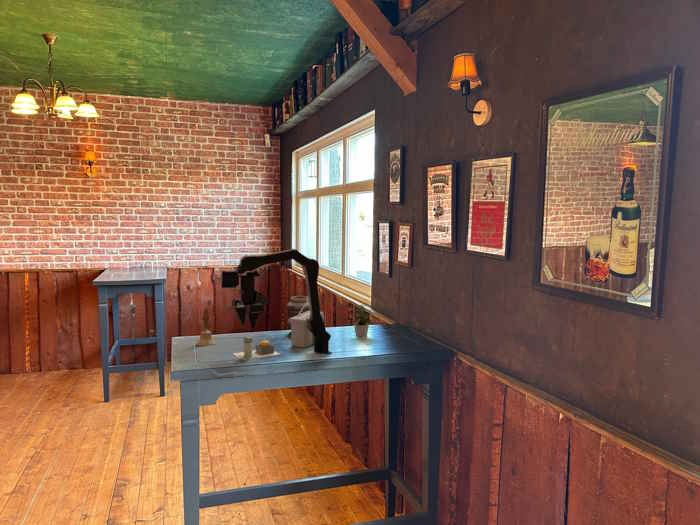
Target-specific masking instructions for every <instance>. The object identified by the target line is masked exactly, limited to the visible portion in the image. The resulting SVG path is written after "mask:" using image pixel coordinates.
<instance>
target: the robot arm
mask: <svg viewBox="0 0 700 525" xmlns="http://www.w3.org/2000/svg"><path fill="white" fill-rule="evenodd" d="M290 260H293V261H295V262H296V263H297V264H299V265H300V266H301V268H302V271H303V275H304V278H305V280H306V287H307V296H308V299H309V307H310V317H309V318H306V321H307V328H308V329H309V331H310V332H311V333H312V334H313V336H314V344H313V350H314V353H316V354H322V355H323V354H326V355H329V354H330V355H331V354H332V351H330V350H329V349H330V348H329V347H330V346H329V345H330V344H329V341H330V340H331V337H332V335H331V334H330V333H329V332H328V331H327V329H326V325H325V320H324V321H323V319H322V316H321V313H320V312H321V308H320V307H321V306H320V305H321V304H320V296H319V287H318V279H319V272H320V264H319V262H318V261H317V260H316V259H314V258H311V257H308V256H306V255H304V254H302V253H301V252H299V251H298V249H295V248H290V249H287V250H282V251H277V252H272V253H267V254H260V255H259V254H257V255H256V254H250V255H249V254H248V255H243V256H242V257H241V258H240V259H239V264H238V266H237V267H236V268H235V269H234V270H221V275H220V288H221V289H237V287H238V286H239V285H240V287H239V289H238V293H239V294H240V296H239V298H233V299H232V300H231V306H232V308H233V309H234V311H235V313H236V315H237V318H238V319H239V322H240V324H241V325H242V326H244V325H245V324H246V317H247V321H248V323H249V326H250V329H251V330H254V329H255V328H256V324H257V321H258V318H259V316H260V315H261V314H263V313H264V312H265V311H266V306H267V305H268V303H269V300H270V297H268V296H265V295H263V293H262V292H260V291H258V290H257V289H256V277H261V274H260V273H258V271H257V269H260V268H261V267H263V266H266V265H270V264H274V263H275V264H277V263H280V262H285V261H290Z"/></svg>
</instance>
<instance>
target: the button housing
mask: <svg viewBox="0 0 700 525" xmlns="http://www.w3.org/2000/svg"><path fill="white" fill-rule="evenodd" d="M255 350H256V352H257V353H259V354H261V355H263V354H269V353H274V351H275V345H274V344H271V343H270V342H269V346H265V347H261V346H260V343H259V344H258V343H256V344H255Z"/></svg>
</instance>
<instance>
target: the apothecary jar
mask: <svg viewBox="0 0 700 525" xmlns="http://www.w3.org/2000/svg"><path fill="white" fill-rule="evenodd" d="M308 299H309V298H308V295H307V296H306V295H294V296H290V301H289V302H288V303H287V305H286V306H287V308H288V309H289V318H288V319H287V321H286V322H287V325H288V326H289V327H290V328H291V322H290V318H292V317H295V316H297V315H298V314H299V313H300V311H301V309H302V308H303V306H304V305H305V303H306V302H307V300H308ZM307 311H310V307H309V300H308V302H307V303H306V305H305V307H304V308H303V310H302V311H301V313H300V314H302V313H305V312H307ZM290 334H291V331H289V335H290Z"/></svg>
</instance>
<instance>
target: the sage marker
mask: <svg viewBox="0 0 700 525" xmlns="http://www.w3.org/2000/svg"><path fill="white" fill-rule="evenodd" d="M252 351H253V337H252V336H244V337H243V352H244V357H251V356H252Z"/></svg>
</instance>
